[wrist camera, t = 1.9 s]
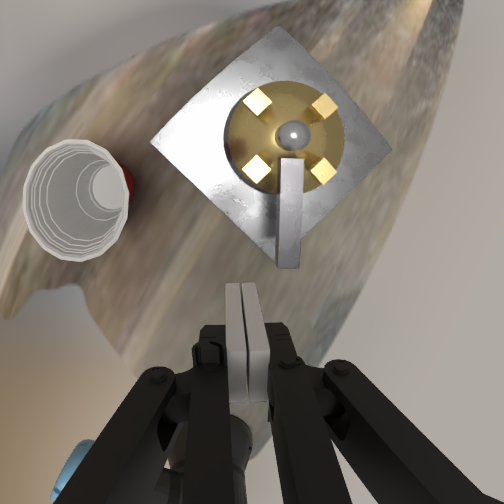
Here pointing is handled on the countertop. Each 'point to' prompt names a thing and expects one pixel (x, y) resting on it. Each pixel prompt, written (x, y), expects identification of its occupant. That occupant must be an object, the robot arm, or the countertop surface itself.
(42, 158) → the plastic cup
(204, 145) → the flange plate
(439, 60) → the countertop surface
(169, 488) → the robot arm
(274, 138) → the brass dial with lever
